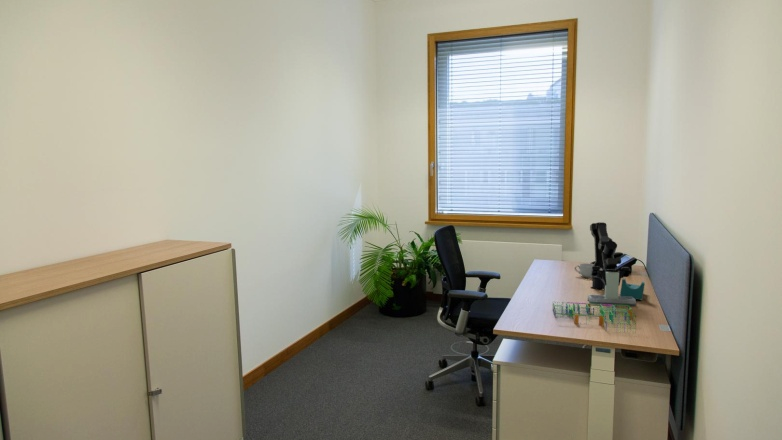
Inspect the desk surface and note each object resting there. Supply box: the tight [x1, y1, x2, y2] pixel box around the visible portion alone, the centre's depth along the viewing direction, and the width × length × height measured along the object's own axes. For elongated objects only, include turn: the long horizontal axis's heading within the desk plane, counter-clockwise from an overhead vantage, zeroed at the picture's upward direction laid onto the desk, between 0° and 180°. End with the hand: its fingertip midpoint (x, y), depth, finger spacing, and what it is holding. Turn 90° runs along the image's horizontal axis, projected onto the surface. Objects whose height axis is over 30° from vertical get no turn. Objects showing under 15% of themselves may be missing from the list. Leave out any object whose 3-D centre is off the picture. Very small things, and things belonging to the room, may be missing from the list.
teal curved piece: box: [619, 278, 645, 301], centre depth 271 cm, size 18×11×10 cm, turn 151°
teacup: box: [573, 262, 594, 279], centre depth 321 cm, size 14×11×8 cm
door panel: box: [604, 272, 620, 299], centre depth 257 cm, size 6×3×14 cm, turn 78°
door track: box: [587, 294, 637, 307], centre depth 258 cm, size 22×8×3 cm, turn 78°
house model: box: [552, 301, 637, 334], centre depth 229 cm, size 35×30×5 cm
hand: (612, 285), depth 256 cm, fingers closed on door panel, 6 cm apart
